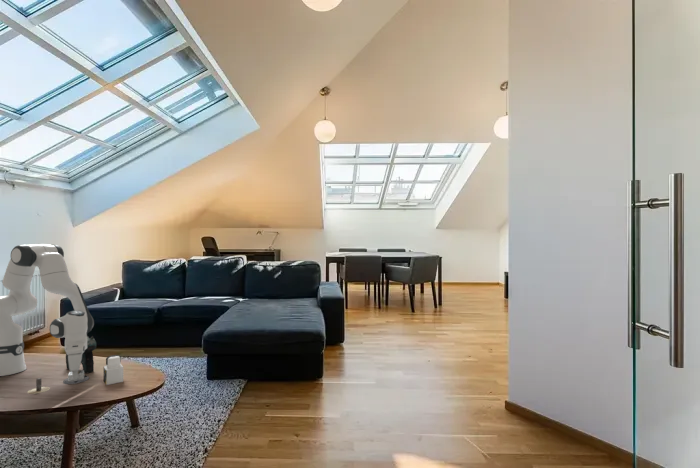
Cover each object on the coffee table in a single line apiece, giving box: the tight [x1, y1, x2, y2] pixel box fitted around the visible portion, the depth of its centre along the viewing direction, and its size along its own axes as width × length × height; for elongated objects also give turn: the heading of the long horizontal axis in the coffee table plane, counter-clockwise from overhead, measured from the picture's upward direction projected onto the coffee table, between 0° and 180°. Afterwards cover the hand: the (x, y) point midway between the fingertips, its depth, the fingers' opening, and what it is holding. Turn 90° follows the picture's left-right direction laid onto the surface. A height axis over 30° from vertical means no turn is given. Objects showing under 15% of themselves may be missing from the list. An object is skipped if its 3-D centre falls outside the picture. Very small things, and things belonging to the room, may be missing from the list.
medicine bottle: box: [103, 354, 124, 386], centre depth 189 cm, size 7×7×12 cm
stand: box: [26, 377, 51, 395], centre depth 176 cm, size 8×8×6 cm
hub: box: [62, 374, 90, 385], centre depth 188 cm, size 10×10×4 cm
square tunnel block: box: [67, 369, 85, 382], centre depth 189 cm, size 6×6×3 cm
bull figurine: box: [65, 335, 97, 374], centre depth 205 cm, size 20×6×20 cm, turn 64°
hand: (76, 375), depth 188 cm, fingers open, 6 cm apart
